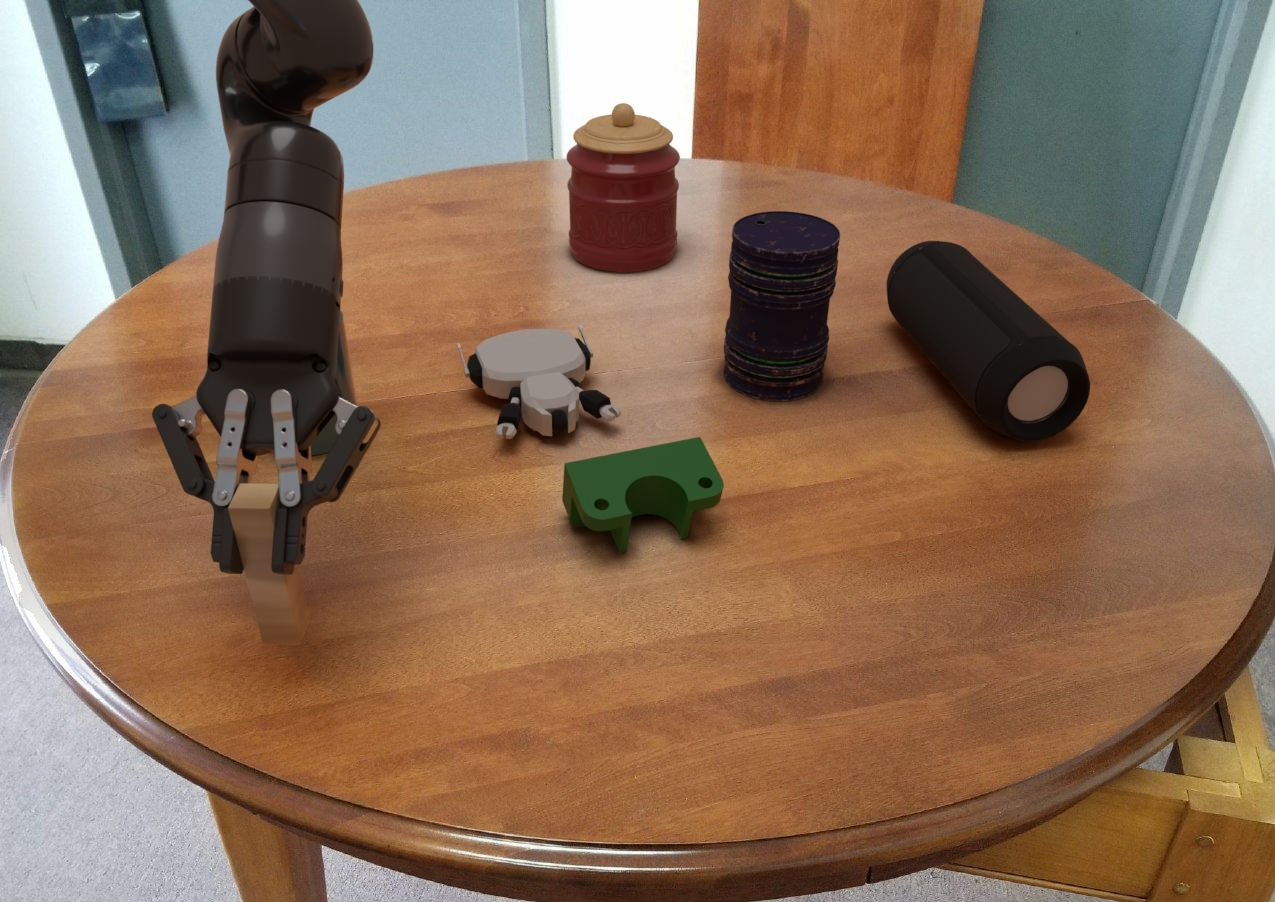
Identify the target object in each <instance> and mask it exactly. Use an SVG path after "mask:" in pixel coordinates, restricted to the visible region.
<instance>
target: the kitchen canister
mask: <svg viewBox="0 0 1275 902" xmlns="http://www.w3.org/2000/svg"><path fill="white" fill-rule="evenodd" d="M572 137H573V140H574V142H575V143H576V144H575V145H574V146H572V147H571V148H570V149H569V150H568V151H567V153H566V157H565V158H566V161H567V163H568V165H570V167H571V174H570V177H569V178H568V180H567V184H566V186H567V187H566V188H567V190H568V203H569V207H568V208H569V230H568V243H569V246H570V250H571V251H570V252H571V255H572V256H573V258H574V259H575V260H576V261H578V262H579V263H581V265H585V266H587V267H590V268H593V269H596V270H600V271H607V272H617V273H618V272H619V273H625V272H626V273H630V272H641V271H647V270H650V269H654V268H657V267H660V266H662V265H664V264H666V263H667V262H669V261H671V259H672V258H673V257H674V255H675V252H676V247H677V246H678V245H677V244H678V230H677V209H678V191H679V187H680V183H679V181H678V178H677V177H676V166H677V165H678V164H679V163H680V160H681V155H680V153H679V151H678V150H677V149H676V148H675V147H674V146H672V145H671V143H672V142H673V140H674V134H673V132H672V131H671V129H669V128H668V127H666V126H664V125H662V124H661V123H660V122H659V121H658V120H657V119H656V118H652V117H650V116H646V115H643V114H636V113H635V109H634V108H633V106H632V105H630V104H628V103H626V102H621V103H617V104H616V105H615V106H614V107H613V109H612V111H611V114H605V115H600V116H596V117H593V118H591V119H589V120H588V121H587V122H586V123H585V124H584V125H582V126H580V127H578V128H577V129H576V130H575V131H574V132H573V136H572Z"/></svg>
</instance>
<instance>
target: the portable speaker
mask: <svg viewBox="0 0 1275 902" xmlns="http://www.w3.org/2000/svg"><path fill="white" fill-rule="evenodd" d="M886 299H887V306H888V309H889V312H890V314H891V315H892V317H893V318H894V320H895V321H896V322H897V324H898V325H899V326H900V327H901V329H902V330H904V332H905V333H906V334H907V335H908V336H909V337H910V339H911V340H912V341H913V342H914V343H915V344H916V346H917V347H918V348H919V349H920V350H921V352H922V353H923V354H924V355H925V356H926V357H927V358H928V360H929V361H930V363H932V364H933V366H935V368H936V369H937V370H938V371H939V372H940V373H941V375H942V376H943V377H944V378H945V379H946V380H947V382H948V383H949V384H950V385H951V386H952V387H953V389H954V390H955V391H956V392H957V393H958V395H959V396H960V397H961V398H962V399H963V400H964V401H965V402H966V404H967V405H968V406H969V407H970V408H971V409H972V411H973V412H974V413H975V414H976V415H977V416H978V418H979V419H980V420H981V421H982V422H983V423H984V424H985V425H986V426H987V427H988V429H990V430H992V431H994V432H996V433H998V434H1001V435H1003V436H1007V437H1008V438H1011V439H1012V438H1013V439H1015V440H1018V441H1021V442H1039V441H1040V442H1041V441H1044V440H1047V439H1048V438H1049V439H1050V438H1052V437H1054V436H1057V435H1058V434H1059V433H1061V432H1063V431H1064V430H1066V429H1068V428H1069V427H1070V426H1071V425H1072V424H1073V423H1074V422H1075V421H1076V420H1077V419H1078V418H1079V417H1080V416H1081V414H1082V412H1083V411H1084V409H1085V408H1086V405H1087V403H1088V400H1089V397H1090V392H1091V381H1090V377H1089V373H1088V369H1087V366H1086V362H1085V361H1084V358H1083V356H1082V353H1081V351H1080V350H1079V349H1078V348H1077V347H1076V345H1074V344H1073V343H1072V342H1070V341H1069V340H1068V339H1066V337H1065V336H1063V334H1062V333H1060V332H1059V331H1058V330H1057V329H1056V328H1055V327H1054V326H1052V324H1050V323H1049V322H1048V321H1047V320H1046V319H1045V318H1044V317H1042V316H1041V315H1040V314H1039V313H1038V312H1037V311H1036V310H1034V308H1032V307H1031V306H1030V305H1029V304H1028V303H1027V302H1025V300H1024V299H1022V298H1021V297H1020V296H1019V295H1018V294H1017V293H1016V292H1015V291H1013V289H1011V288H1010V287H1009V286H1007V284H1006V283H1005V282H1004V281H1002V280H1001V279H1000V278H999V277H998V276H997V275H996V274H994V272H993V271H991V270H990V269H989V268H988V267H987V266H986V265H984V264H983V263H982V262H981V261H980V260H979V259H978V258H977V257H976V256H974V255H973V254H972V253H971V251H970V250H968V249H967V248H966V247H964V246H962V245H960V244H957V243H955V242H951V241H940V240H926V241H922V242H918V243H916V244H914V245H912V246H910V247H908V248H907V249H906V250H904V251H903V252H902V253H901V254H899V256H898V257H897V258H896V259H895V260H894V262H893V264H892V265H891V267H890V269H889V271H888V275H887V278H886Z"/></svg>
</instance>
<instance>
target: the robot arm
mask: <svg viewBox="0 0 1275 902" xmlns="http://www.w3.org/2000/svg"><path fill="white" fill-rule="evenodd" d="M247 1H248V2H249V3H250V4H251V5H252V7H250V8H249V9H247V10H246V11H244V12H243V13H242V14H241V15H239V16H237V17H236V18H235V19H234V20H233V21H232V22H231V23H230V24H229V26H228V27H227V28H226V30H225V32H224V33H223V35H222V38H221V41H220V44H219V47H218V52H217V56H216V63H215V83H216V84H215V85H216V90H217V91H216V92H217V97H218V103H219V109H220V116H221V122H222V127H223V128H222V129H223V133H224V137H225V140H226V144H227V150H228V153H229V159H228V166H227V171H226V172H227V174H226V184H225V185H226V186H225V196H224V207H223V208H224V210H223V219H222V225H221V229H220V232H219V237H218V241H217V246H216V251H215V261H214V273H213V284H212V294H211V295H212V296H211V306H210V318H209V331H208V342H207V353H206V354H207V355H206V356H207V357H206V359H207V362H206V365H207V366H206V371H205V374H204V377H203V378H202V380H201V381H200V382H199V384H198V386H197V388H196V395H194V396H192V397H189V398H187V399H186V400H183V401H181V402H179V403H177V404H175V405H172V406H171V405H169V404H168V403H160V404H157V405H155V406H154V408H153V409H152V412H151V417H152V420H153V422H154V425H155V427H156V429H157V431H158V434H159V436H160V439H161V441H162V443H163V446H164V448H165V450H166V452H167V454H168V457H169V460H170V462H171V464H172V467H173V469H174V471H175V474H176V476H177V478H178V481H179V484H180V486H181V488H182V490H183V492H184V493H186V494H187V495H189V496H192V497H195V498H196V499H199V500H202V501H205V502H207V503H209V504H210V506H211V507H212V509H213V519H212V532H211V544H210V556H211V559H212V562H213V563H217V564H218V566H219V567H218V569H219V572H221V573H224V574H227V575H242V574H243V573H244V568H243V564H242V560H241V556H240V552H239V548H238V544H237V540H236V536H235V532H234V529H233V526H232V522H231V518H230V514H229V510H228V507H229V505H230V503H231V501H232V499H233V497H234V495H235V492H236V490H237V488H238V486H239V484H240V483H252V478H253V476H254V475H255V474H256V472H257V468H258V463H259V458H260V456H263V455H267V454H274V462H275V466H276V468H277V473H278V484H279V493H280V501H281V509H280V508H276V516H275V529H274V534H273V548H272V562H271V568H272V572H273V573H277V574H293V572H294V565H295V564H298V566H299V565H302V563H303V561H304V560H305V557H306V546H307V544H306V543H307V530H308V517H309V513H310V512H311V510H312V509H313V508H314V507H316V506H319V505H322V504H324V503H335V502H337V501H339V500H340V498H341V497H342V495H343V493H344V491H345V490H346V488H347V487H348V485H349V483H350V481H351V479H352V478H353V476H354V474H355V472H356V471H357V469H358V468H359V466H360V464H361V462H362V461H363V459H364V458H365V455H366V453H367V452H368V450H369V448H370V447H371V444H372V443H373V442H374V440H375V438H376V436H377V434H378V432H379V430H380V429H381V426H382V425H381V420H380V419H379V417H378V416H377V415H376V414H375V413H374V412H373V410H371V409H370V408H368V407H367V406H366V405H365V406H364V405H360V406H359V405H358V406H356V405H354V404H352V403H350V402H349V401H347V400H345V399H343V394H342V391H341V389H340V387H339V385H338V383H337V379H336V369H337V354H338V338H339V322H340V310H341V305H342V304H341V303H342V302H341V301H342V298H343V296H344V280H343V272H344V271H343V270H344V269H343V268H344V267H343V266H344V262H343V261H344V260H343V250H342V249H343V248H342V221H343V205H344V188H345V166H344V165H345V164H344V158H343V154H342V151H341V150H340V147H339V145H338V144H337V143H336V141H334V139H333V138H331V136H330V135H328V134H327V133H325V132H323V131H322V130H321V129H318V128H316V127H314V126H312V119H313V114H314V111H315V109H316V108H318V107H320V106H321V105H324V104H325V103H328V102H329V101H331V100H333V99H335V98H337V97H339V96H341V95H342V94H345V93H346V92H349V91H350V90H352V89H354V88H355V87H357V86H359V85H360V84H361V82H363V81H364V80H365V79H366V78H367V76H369V74H370V71H371V69H372V66H373V65H374V58H375V57H374V56H375V45H374V36H373V33H372V29H371V26H370V23H369V22H370V21H369V19H368V17H367V15H366V13H365V11H364V8H363V7H362V5H361V3H360V2H359V0H247ZM205 415H206V417H207V419H208V420H209V422H210V423H211V424H212V426H213V428H214V429H215V431H216V432H217V434H218V435H219V437H220V438H219V444H218V449H217V454H216V465H217V469H216V474H215V479H214V476H213V473H212V472H211V469H210V466H209V465H208V462H207V460H206V458H205V456H204V452H203V451H202V447H201V446H200V443H199V441H198V439H197V438H198V437H199V436H200V435H201V433H202V431H203V425H202V419H203V417H204V416H205ZM335 415H337V422H336V424H335V430H336V432H337V434H338V435H339V437H338V438H337V440H336V442H335V443H334V445H333V447H332V449H331V450H330V452H328V453H327V455H326V457H325V459H324V460H323V462H322V464H321V466H320V467H319V469H318V471H317V473H316V474H315V476H314V477H313V479H312V480H311V474H312V472H313V463H312V460H313V459H312V456H311V444H312V443H313V441H314V440H315V439H316V438H317V437H318V435H319V434H320V433H321V432H322V430H323V429H324V428H325V427H326V426H327V424H328V423H329V422H330V421H331V419H332V418H333V417H334V416H335ZM300 454H301V455H300Z"/></svg>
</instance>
